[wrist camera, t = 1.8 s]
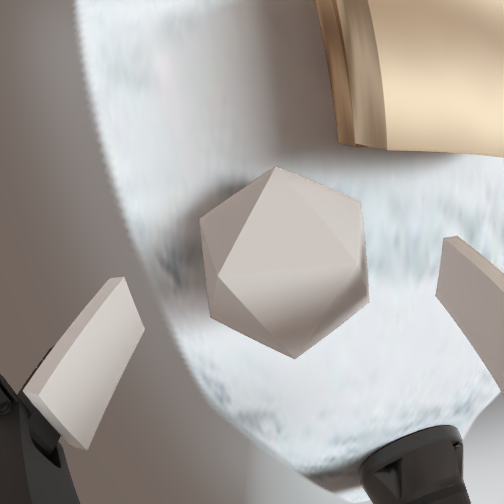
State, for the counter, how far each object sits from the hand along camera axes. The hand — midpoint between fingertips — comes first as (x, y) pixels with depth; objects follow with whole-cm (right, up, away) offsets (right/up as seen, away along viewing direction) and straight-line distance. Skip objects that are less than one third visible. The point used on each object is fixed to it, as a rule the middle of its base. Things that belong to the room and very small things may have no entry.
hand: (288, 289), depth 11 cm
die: (+1, +3, +7) cm, 8 cm away
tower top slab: (+8, +12, -1) cm, 14 cm away
